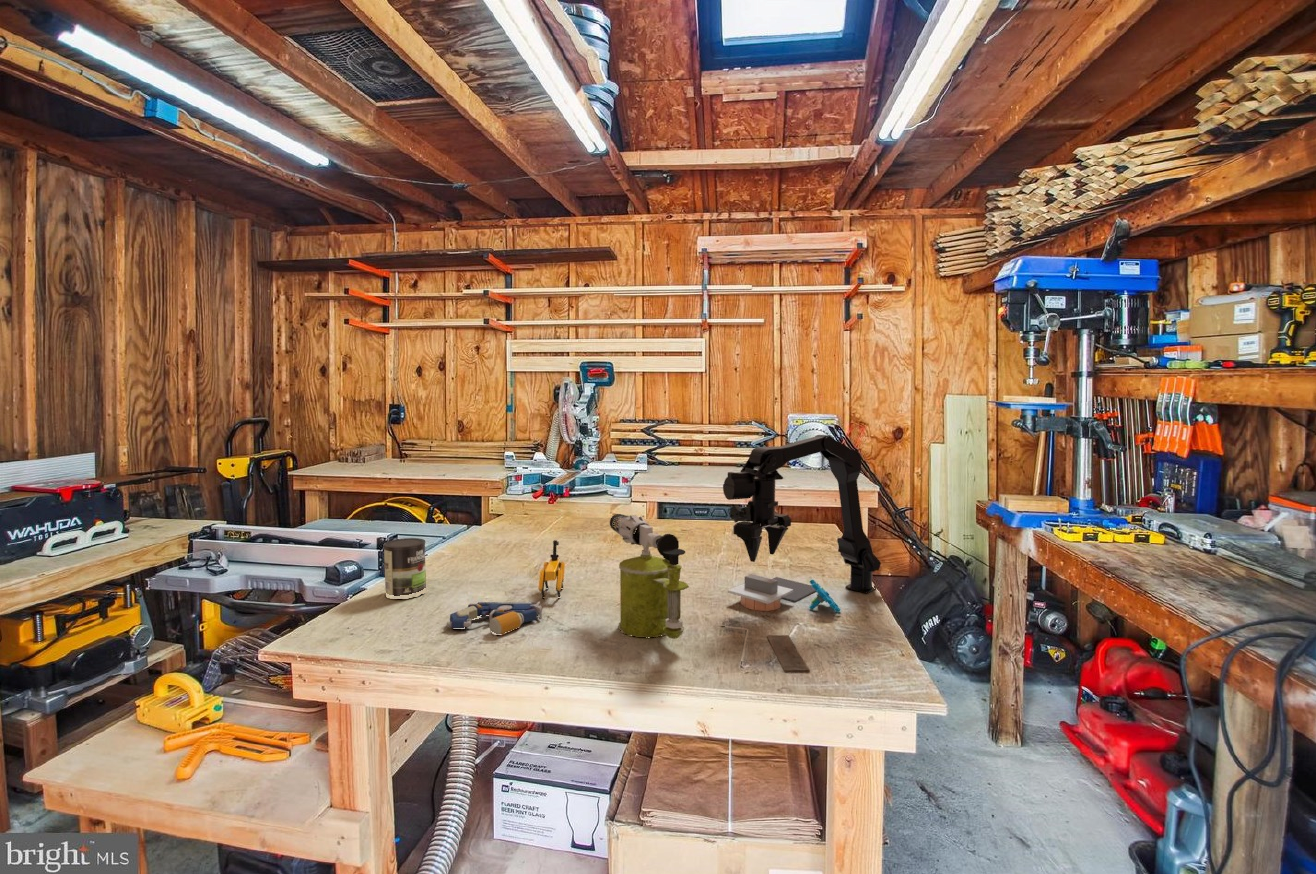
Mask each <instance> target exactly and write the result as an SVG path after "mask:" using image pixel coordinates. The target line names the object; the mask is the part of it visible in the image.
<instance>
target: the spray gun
mask: <svg viewBox="0 0 1316 874" xmlns="http://www.w3.org/2000/svg"><path fill="white" fill-rule="evenodd" d="M538 614H539V615H538ZM542 614H543V607H542V605H541V601H537V602H536V603H535V602H532V601H531V602H529V601H528V602H526V601H525V602H523V601H522V602H521V601H518V602H517V601H515V602H514V601H512V602H511V601H510V602H508V601H507V602H505V601H503V602H501V601H500V602H499V601H495V602H493V601H492V602H490V601H487V602H485V601H484V602H483V601H482V602H481V601H478V602H477V603H469V604H468V606H467V607H465V608H462V609H460V610H458V611H456V612H453V613H450V615H449V621H447V622H446V625H445V626H446V627H447V628H451V629H452V628H464V627H467V628H470V627H472V625H473V624H478V623H481V622H484V621H487V620H488V621H489V625H488V626H489V631H490V632H491V631H492V632H494V633H496V634H503V633H505V632H508V631H511V630H513V629H516V628H518V627H519V628H521V625H522V624H524V623H528V622H531V621H534V620H536V619H537V618H539V619H540V620H542V619H543V615H542ZM480 615H482V618H479V619H475V620H472V619H474V618H477V616H480ZM486 615H489V616H486ZM537 615H538V616H537ZM539 619H538V620H539Z"/></svg>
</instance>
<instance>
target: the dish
mask: <svg viewBox="0 0 1316 874" xmlns="http://www.w3.org/2000/svg"><path fill="white" fill-rule="evenodd" d="M781 601H782V598H780V599H778V600H775V601H773V602H771V603H769V604H767V603H763V602H760V601H756V600H752V599H749V598H745V597H742V596H740V605H742V606H743V607H744V608H745V609H750V610H752V611H759V612H760V611H762V612H768V611H775V610H777V609H779V608H781V603H782V602H781Z"/></svg>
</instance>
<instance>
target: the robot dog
mask: <svg viewBox="0 0 1316 874" xmlns="http://www.w3.org/2000/svg"><path fill="white" fill-rule="evenodd" d="M552 543H553V544H552V554H550V556H549V557H550V559H549V561H548V562H547V561H545V562H544V563H543V569H541V570H540V572H539V580H538V590H539V592H541V597H542V598H543V597H545V598H546V595H545V589H546V588H548V589H549V585H548V581H550V582H552V581H556V585H555V590H556V592H557V598H558V597H560V596H561V591H562V590H561V588H563V589H564V581H565V571H566V563H565V561H561V559H560V558H559V556H560V555H559V554H557V546H559V545H560V544H559V541H558V540H556V539H555V540H553V541H552Z"/></svg>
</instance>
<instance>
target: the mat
mask: <svg viewBox="0 0 1316 874" xmlns="http://www.w3.org/2000/svg"><path fill="white" fill-rule="evenodd" d="M772 579H774V580H778V586H781V587H785V588H789V589H793V592H792V593H790V594H788V595H786V596H784V597H782V598H781V600H786V601H789V602H794V603H796V602H798V601H801V600H802V599H804V598H806V597H809V596H810V595H812V594H814V593H817V592H816V590H815V589H814V588H813V587H812V584H807V583H803V582H799V581H795V580H791V579H786V578H783V577H778V576H775V577H773V578H772Z"/></svg>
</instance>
